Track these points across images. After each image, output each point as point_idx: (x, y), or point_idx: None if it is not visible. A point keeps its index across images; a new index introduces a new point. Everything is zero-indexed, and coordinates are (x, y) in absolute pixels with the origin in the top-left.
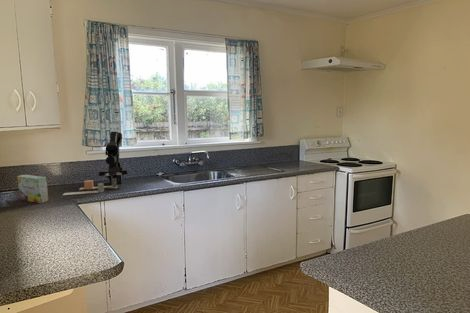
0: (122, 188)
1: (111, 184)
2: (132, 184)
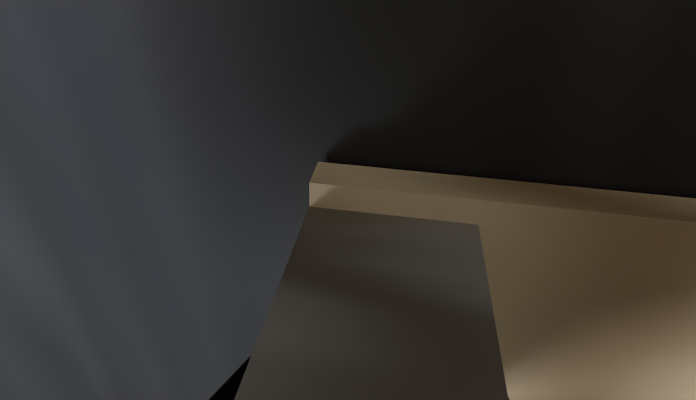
0: (98, 37)
1: None
2: (11, 386)
